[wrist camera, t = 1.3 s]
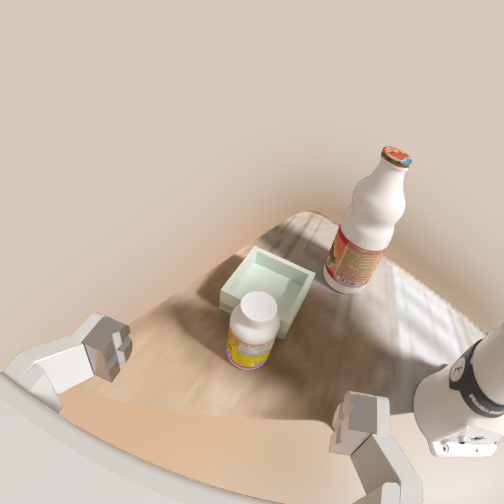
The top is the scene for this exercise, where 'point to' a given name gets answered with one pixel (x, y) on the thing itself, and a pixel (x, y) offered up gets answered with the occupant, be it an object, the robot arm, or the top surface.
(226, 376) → the top surface
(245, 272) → the sage tray
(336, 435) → the robot arm
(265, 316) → the supplement bottle
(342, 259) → the fruit juice
